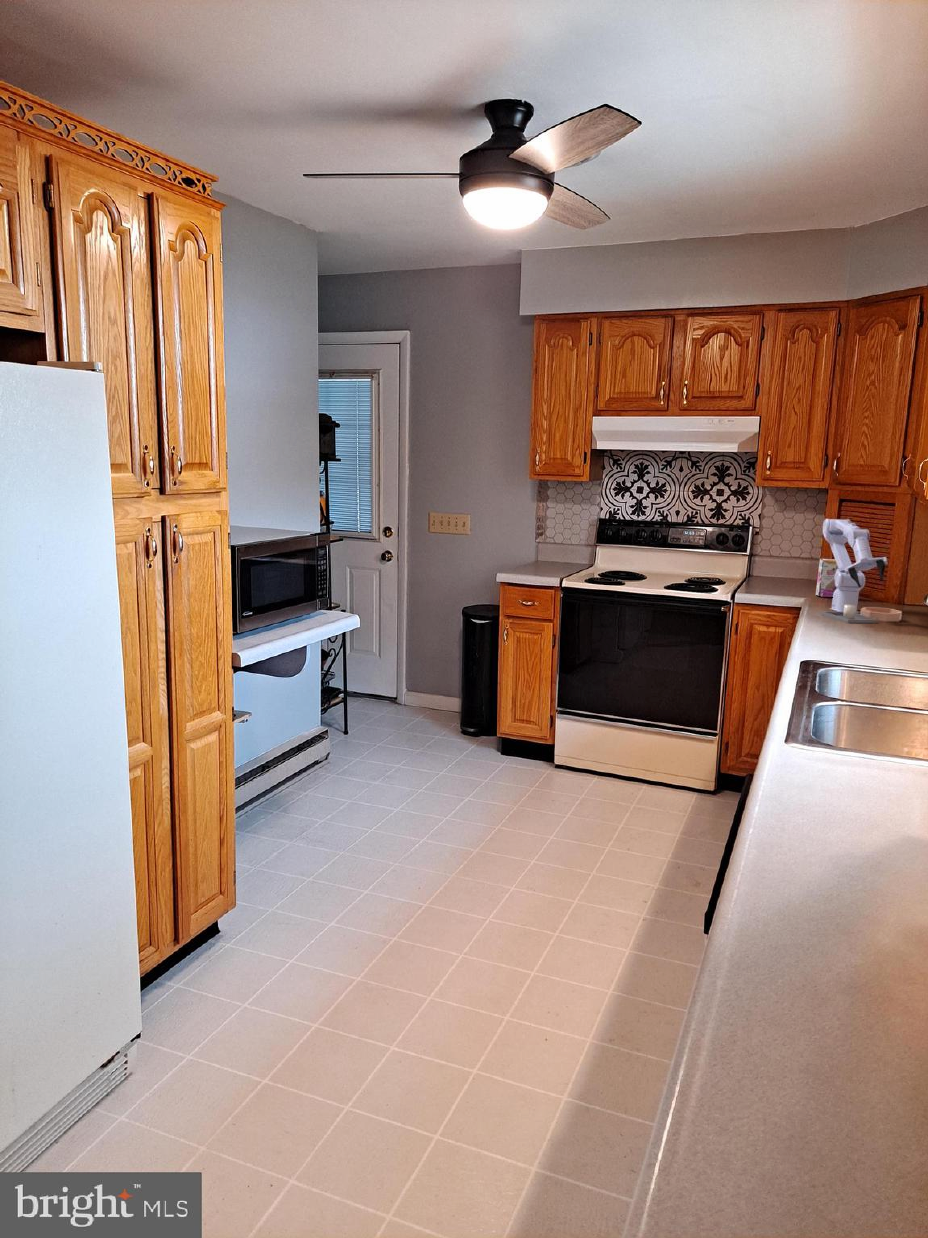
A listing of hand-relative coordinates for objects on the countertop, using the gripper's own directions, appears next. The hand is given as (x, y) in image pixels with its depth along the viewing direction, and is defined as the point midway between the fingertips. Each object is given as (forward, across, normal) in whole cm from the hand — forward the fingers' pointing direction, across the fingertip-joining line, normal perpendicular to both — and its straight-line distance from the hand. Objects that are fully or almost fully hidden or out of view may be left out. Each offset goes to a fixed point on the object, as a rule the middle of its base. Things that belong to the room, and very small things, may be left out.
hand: (870, 582), depth 323 cm
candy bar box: (-34, -19, +47) cm, 61 cm away
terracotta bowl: (+4, -1, +18) cm, 18 cm away
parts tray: (+8, -11, +9) cm, 16 cm away
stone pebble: (+7, -11, +8) cm, 15 cm away
